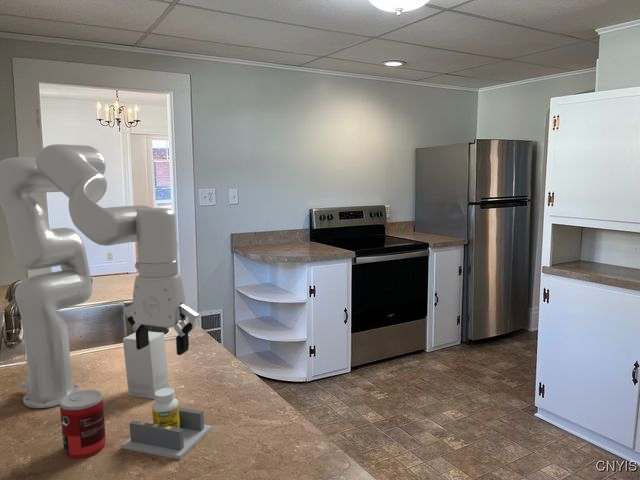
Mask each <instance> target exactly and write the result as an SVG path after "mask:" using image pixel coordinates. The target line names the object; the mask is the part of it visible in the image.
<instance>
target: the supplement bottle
mask: <svg viewBox="0 0 640 480" xmlns="http://www.w3.org/2000/svg"><path fill="white" fill-rule="evenodd" d="M175 396H176V395H175V389H173V388H171V387H169V388H163V389H160V390H158V391H156V392H155V399H154V400H155V401H153V403H152V404H151V405H152V406H151V410H152V411H151V412H152V421H153V424H159V425H162V426H171V427H174V428H179V429H180V419H179V407H180V406H179V405H180V404H179V401H178V399H177V398H176V397H175Z"/></svg>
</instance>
